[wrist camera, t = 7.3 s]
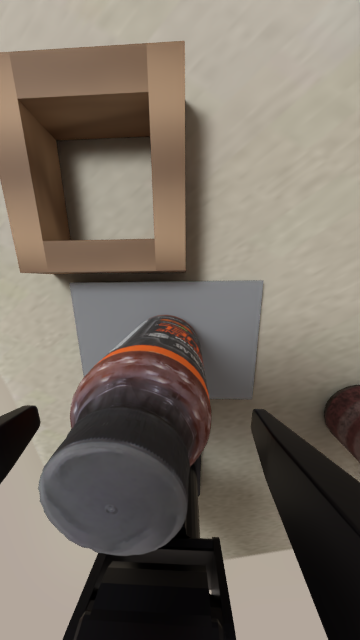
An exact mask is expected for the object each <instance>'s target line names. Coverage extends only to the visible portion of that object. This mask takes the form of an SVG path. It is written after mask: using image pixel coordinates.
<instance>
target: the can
mask: <svg viewBox="0 0 360 640" xmlns="http://www.w3.org/2000/svg"><path fill="white" fill-rule="evenodd" d="M324 413H325V420H326V425H327V427H328V428H329V430H330V432H331V433H332V434H333V435H334V436H335V437H336V438H337V439H338V440H339V441H340V442H341V443H342V444H343V445H344V446H345V447H346V448H347V450H348V451H349V452H350V453H351V454H352V455H353V456H354V457H355V458H356V459H357V460H358V461H359V462H360V385H354V386H349V387H346V388H344V389H342V390H340V391H338V392H337V393H335V394H334V395H333V396H332V397H331V398H330V400H329V401H328V403H327V404H326V407H325V411H324Z"/></svg>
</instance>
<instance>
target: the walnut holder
mask: <svg viewBox="0 0 360 640" xmlns="http://www.w3.org/2000/svg"><path fill="white" fill-rule="evenodd" d="M147 136H150V140H151V164H152V188H153V212H154V236H155V239H121V240H74V241H71V240H70V233H69V226H68V219H67V212H66V205H65V198H64V191H63V184H62V177H61V170H60V163H59V157H58V150H57V143H56V140H78V139H101V138H124V137H147ZM0 180H1V184H2V189H3V194H4V198H5V203H6V208H7V212H8V217H9V222H10V226H11V231H12V236H13V240H14V245H15V250H16V254H17V259H18V264H19V268H20V273H39V274H96V273H169V272H186V229H185V41H174V42H159V43H143V44H127V45H111V46H95V47H79V48H64V49H48V50H32V51H16V52H0Z"/></svg>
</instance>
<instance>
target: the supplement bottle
mask: <svg viewBox="0 0 360 640" xmlns="http://www.w3.org/2000/svg"><path fill="white" fill-rule="evenodd" d="M70 421H71V427H72V429H71V431H70V432H69V434H68V435H67V438H66V439H65V440H64V441H63V443H62V444H61V445H60V446H59V447H58V449H57V450H56V451H55V453H54V454H53V455H52V457H51V458H50V459H49V461H48V462H47V464H46V465H45V466H44V468H43V472H42V474H41V477H40V481H39V492H40V502H41V504H42V506H43V509H44V512H45V514H46V516H47V517H48V519H49V520H50V522H51V523H52V524H53V525H54V526H55V527H56V528H57V529H58V530H59V531H60V532H61V533H62V534H64V535H65V537H66V538H67V539H68V540H70V541H72V542H74V543H75V544H77V545H79V546H81V547H84V548H90V549H92V550H93V551H95V552H97V553H104V554H109V555H117V556H130V555H141V554H145V553H148V552H151V551H154V550H157V549H158V548H160V547H162V546H164V545H166V544H167V543H168V542H170V540H171V539H172V538H173V537H174V536H175V535H176V534H177V533H178V532H179V531H180V529H181V528H182V525H183V524H184V522H185V518H186V515H187V510H188V483H189V481H188V477H189V472H190V467H191V465H192V464H193V463H194V462H195V461H196V459H197V458H198V457H199V456H200V454H201V453H202V451H203V450H204V448H205V446H206V444H207V441H208V438H209V434H210V429H211V406H210V400H209V392H208V387H207V381H206V375H205V371H204V365H203V358H202V352H201V346H200V342H199V339H198V336H197V334H196V332H195V331H194V329H193V328H192V327H191V326H190V325H189V324H188V323H187V322H186V321H184V320H183V319H181V318H178V317H176V316H172V315H157V316H154V317H151V318H149V319H147V320H146V321H144V322H143V323H142V324H140V325H139V326H138V327H137V328H136V329H135V330H134V331H133V332H131V333H130V334H129V335H128V336H127V337H126V338H125V339H124V340H123V341H121V342H120V343H119V344H118V345H117V346H116V347H115V348H114V349H113V350H111V351H110V352H109V353H108V354H107V355H106V356H105V357H104V358H103V359H102V360H101V361H99V362H98V363H97V364H96V365H95V366H94V367H93V368H92V369H91V370H90V371H89V372H88V374H86V375H85V377H84V378H83V379H82V381H81V382H80V384H79V386H78V388H77V390H76V392H75V394H74V396H73V400H72V404H71V411H70Z"/></svg>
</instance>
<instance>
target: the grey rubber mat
mask: <svg viewBox="0 0 360 640" xmlns="http://www.w3.org/2000/svg"><path fill="white" fill-rule="evenodd" d="M69 284H70V290H71V297H72V303H73V310H74V316H75V323H76V329H77V336H78V342H79V349H80V355H81V362H82V368H83V375H84V377H85V375H86V374H88V372H89V371H90V370H91V369H92V368H93V367H94V366H95V365H96V364H97V363H98V362H99V361H101V360H102V359H103V358H104V357H105V356H106V355H107V354H108V353H109V352H110V351H111V350H113V349H114V348H115V347H116V346H117V345H118V344H119V343H120V342H121V341H123V340H124V339H125V338H126V337H127V336H128V335H129V334H130V333H131V332H133V331H134V330H135V329H136V328H137V327H138V326H139V325H140V324H142V323H143V322H144V321H146V320H147V319H149V318H151V317H154V316H157V315H172V316H176V317H178V318H181V319H183V320H184V321H186V322H187V323H188V324H189V325H190V326H191V327H192V328H193V329H194V331H195V332H196V334H197V336H198V339H199V342H200V346H201V352H202V358H203V365H204V371H205V375H206V381H207V387H208V392H209V399H252V395H253V385H254V374H255V364H256V353H257V343H258V332H259V322H260V311H261V301H262V290H263V281H177V282H92V283H69Z"/></svg>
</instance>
